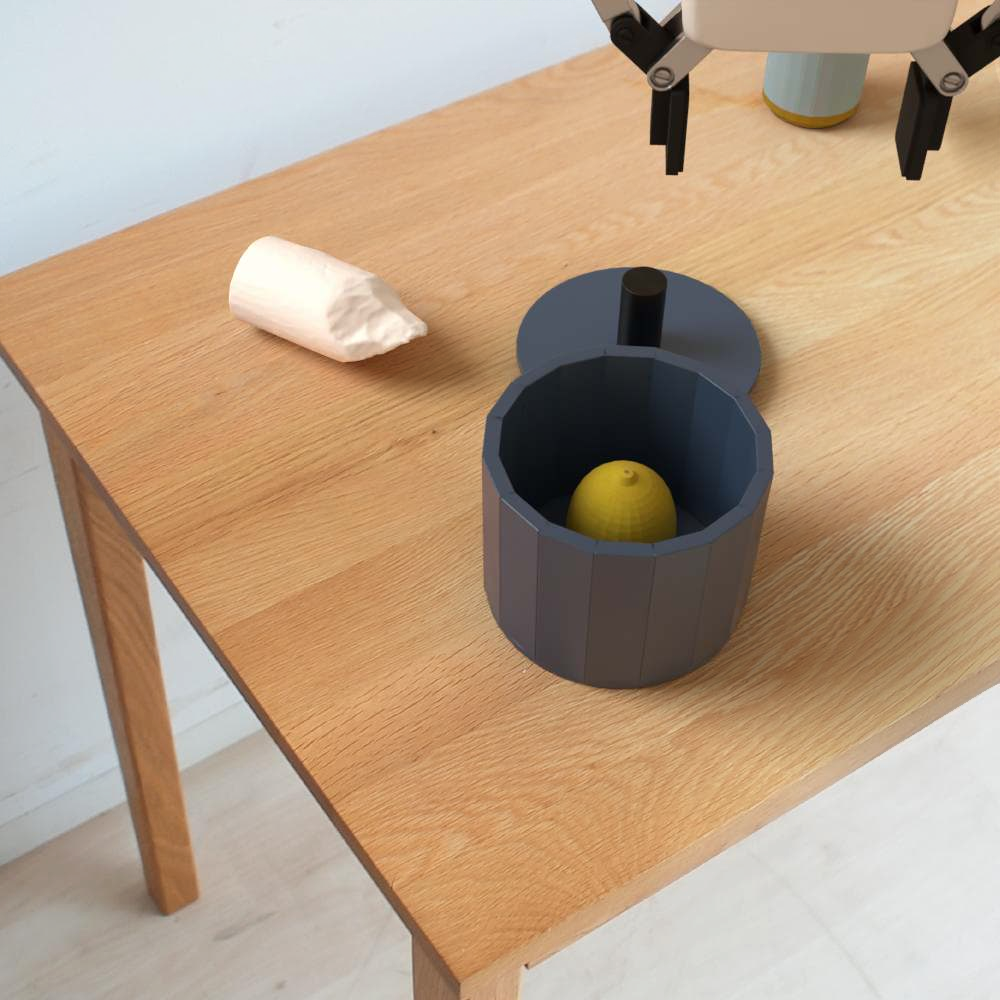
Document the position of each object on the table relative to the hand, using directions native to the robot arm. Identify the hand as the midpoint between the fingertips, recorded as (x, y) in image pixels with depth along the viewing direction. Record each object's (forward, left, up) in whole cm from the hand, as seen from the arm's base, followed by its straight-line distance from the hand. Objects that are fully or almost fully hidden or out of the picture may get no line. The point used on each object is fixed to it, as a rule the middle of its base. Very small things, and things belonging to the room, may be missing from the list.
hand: (789, 158), depth 60 cm
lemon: (+6, +4, -24) cm, 25 cm away
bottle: (-7, -41, -24) cm, 48 cm away
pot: (+6, +4, -24) cm, 25 cm away
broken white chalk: (+23, -13, -24) cm, 36 cm away
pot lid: (+5, -13, -24) cm, 27 cm away
